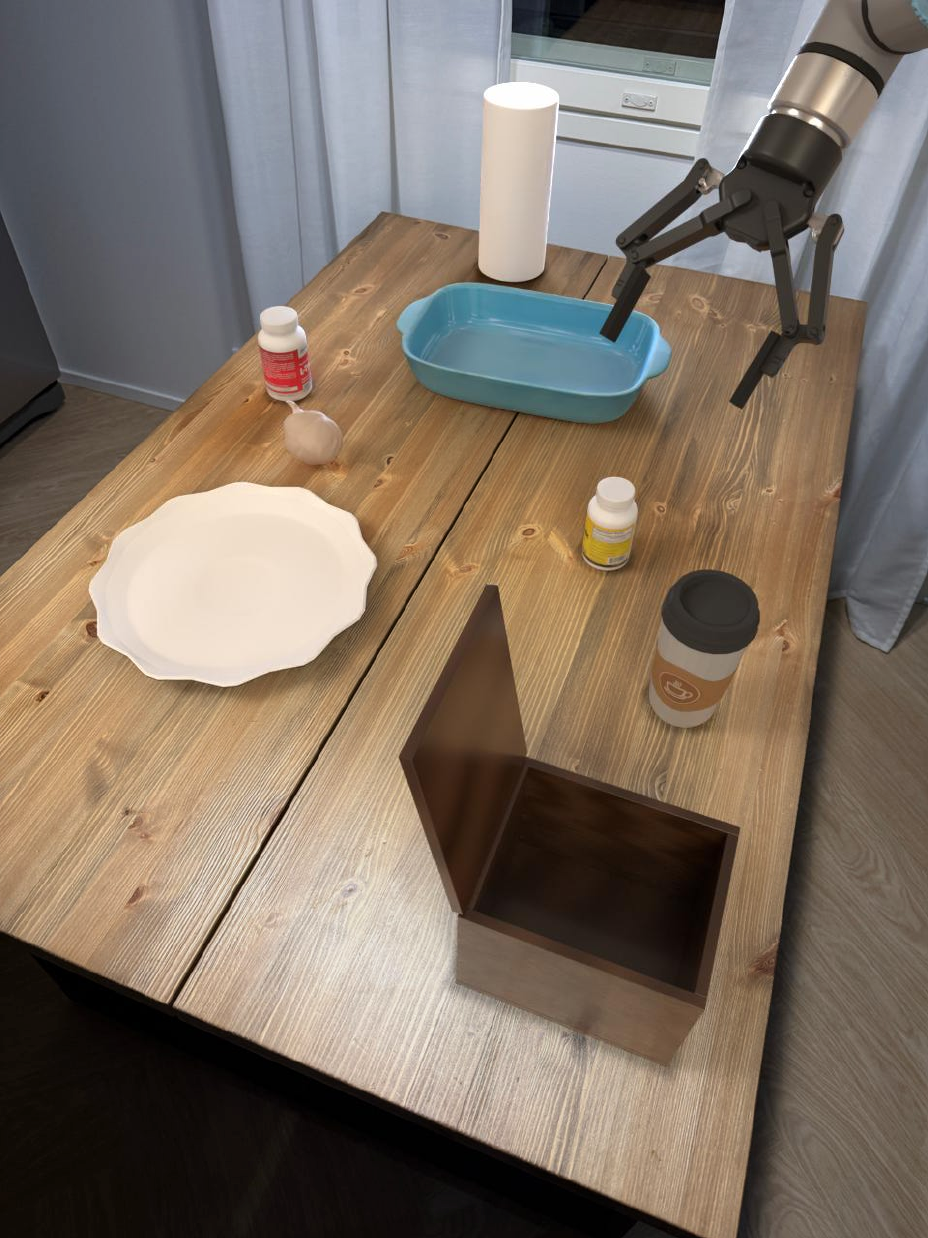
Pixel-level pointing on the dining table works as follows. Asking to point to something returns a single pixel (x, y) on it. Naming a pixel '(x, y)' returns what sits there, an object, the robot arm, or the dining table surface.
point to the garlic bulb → (311, 436)
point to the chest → (599, 910)
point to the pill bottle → (284, 354)
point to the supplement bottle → (610, 524)
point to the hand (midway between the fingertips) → (669, 371)
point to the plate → (232, 584)
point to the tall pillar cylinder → (516, 179)
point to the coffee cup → (700, 644)
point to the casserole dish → (530, 351)
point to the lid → (467, 750)
